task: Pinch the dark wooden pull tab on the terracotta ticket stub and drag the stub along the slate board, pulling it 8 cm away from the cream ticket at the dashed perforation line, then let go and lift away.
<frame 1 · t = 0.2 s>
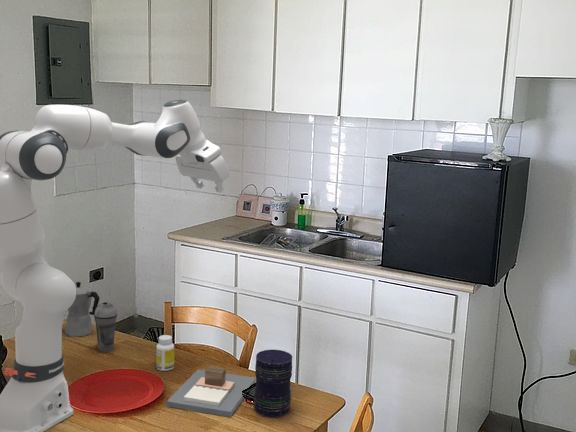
hand: (210, 189, 198), 54 cm above the table, tool tilted 30°, fingers open, 8 cm apart
supplement bottle: (165, 368, 196), on the table
beverage cup: (105, 349, 209), on the table
storage jar: (272, 409, 173), on the table
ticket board: (213, 394, 180), on the table
coffeepot: (81, 333, 222), on the table
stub: (215, 378, 181), point 4 cm above the table, slide at 0.0 cm
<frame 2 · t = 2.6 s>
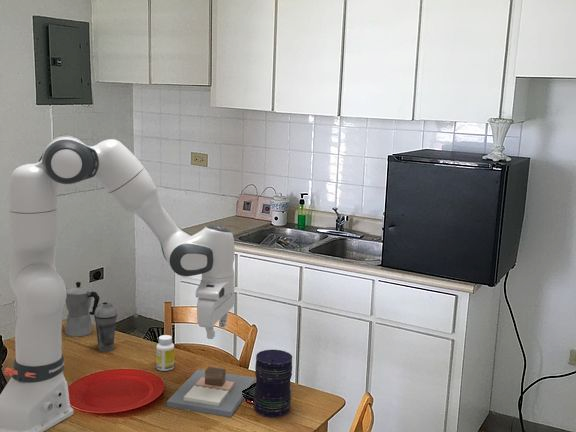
hand: (216, 332, 179), 18 cm above the table, tool pointing down, fingers open, 8 cm apart
nothing on the table moved.
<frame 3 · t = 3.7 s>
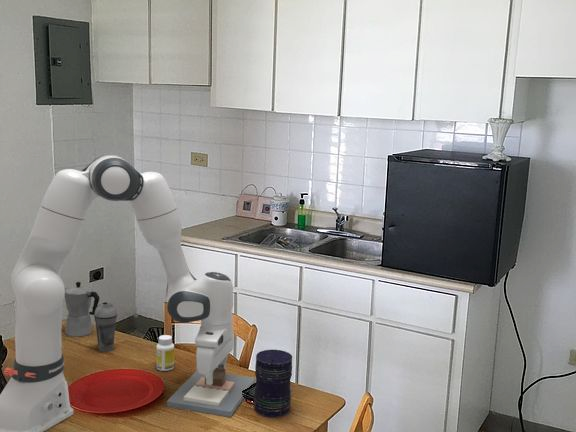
hand: (216, 376, 181), 4 cm above the table, tool pointing down, fingers open, 8 cm apart
nothing on the table moved.
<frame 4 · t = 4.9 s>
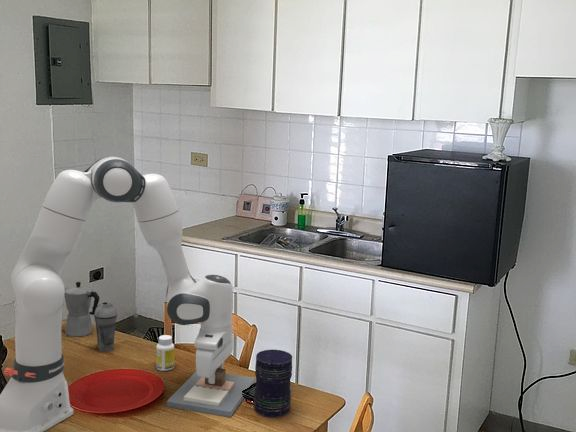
hand: (215, 379, 181), 4 cm above the table, tool pointing down, fingers closed on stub, 3 cm apart
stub: (215, 378, 181), point 4 cm above the table, slide at 0.0 cm, touching gripper
everything else where it was.
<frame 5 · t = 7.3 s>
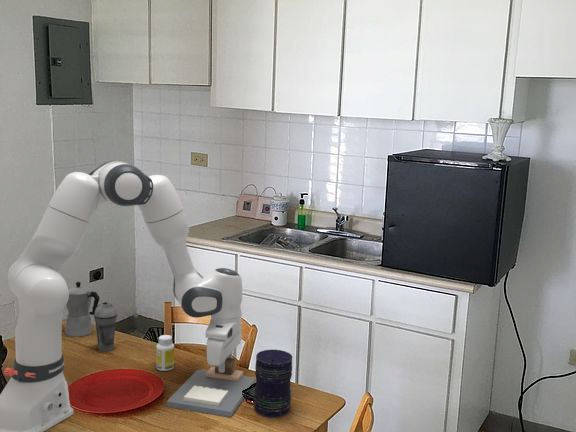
hand: (224, 368, 189), 4 cm above the table, tool pointing down, fingers closed on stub, 3 cm apart
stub: (224, 367, 188), point 4 cm above the table, slide at 7.9 cm, touching gripper
everything else where it was.
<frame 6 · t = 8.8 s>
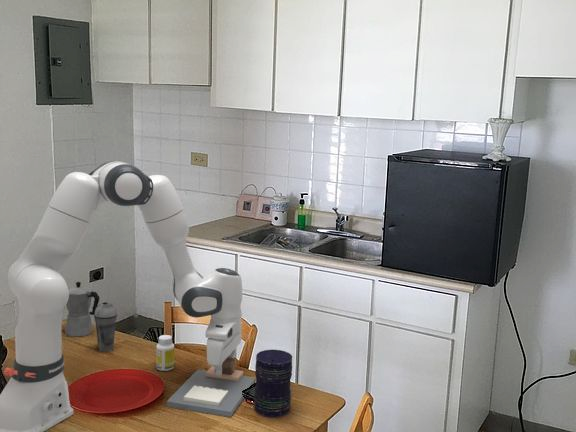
hand: (224, 368, 189), 4 cm above the table, tool pointing down, fingers open, 8 cm apart
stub: (224, 367, 189), point 4 cm above the table, slide at 8.0 cm
everything else where it was.
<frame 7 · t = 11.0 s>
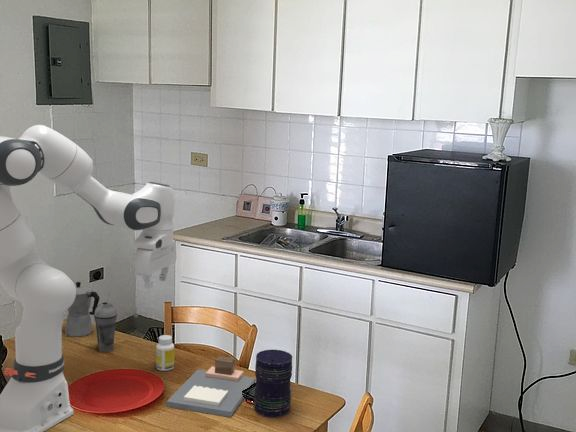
hand: (155, 284, 189), 27 cm above the table, tool pointing down, fingers open, 8 cm apart
nothing on the table moved.
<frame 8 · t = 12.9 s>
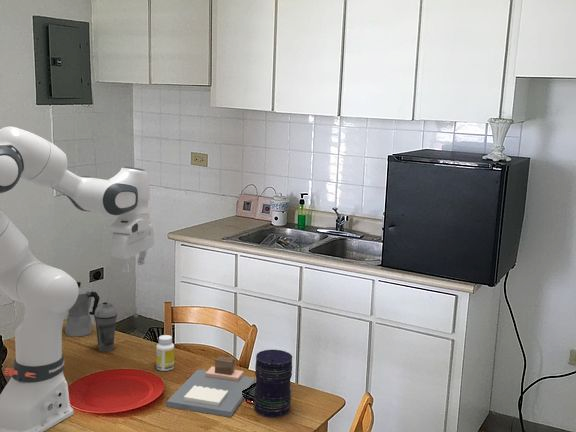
hand: (133, 268, 190), 31 cm above the table, tool pointing down, fingers open, 8 cm apart
nothing on the table moved.
at the end: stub slide at 8.0 cm; the gripper is holding nothing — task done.
